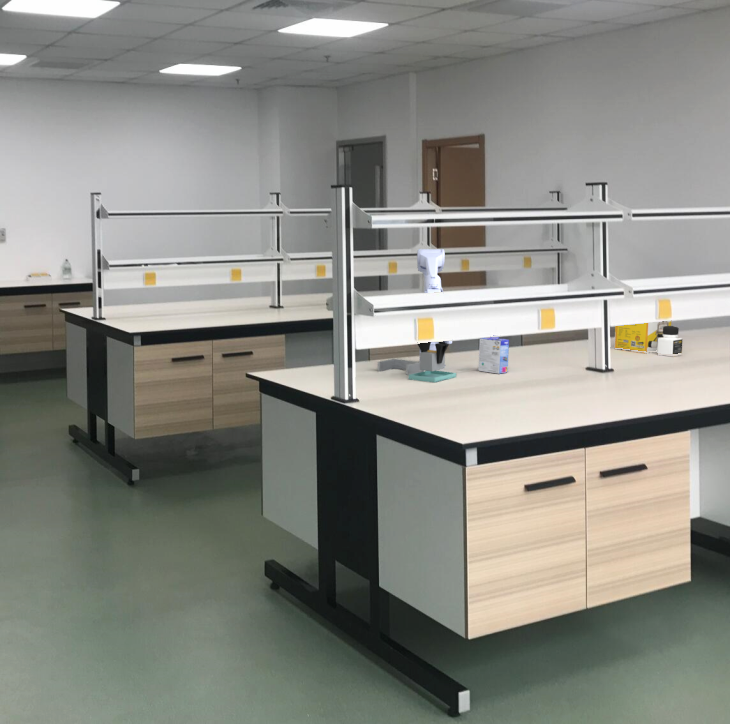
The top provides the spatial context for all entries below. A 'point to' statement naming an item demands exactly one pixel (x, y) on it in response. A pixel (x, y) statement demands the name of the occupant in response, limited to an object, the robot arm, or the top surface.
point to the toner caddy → (430, 361)
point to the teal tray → (432, 376)
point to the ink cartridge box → (493, 355)
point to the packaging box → (640, 336)
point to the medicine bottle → (670, 341)
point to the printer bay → (400, 365)
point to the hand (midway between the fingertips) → (432, 362)
